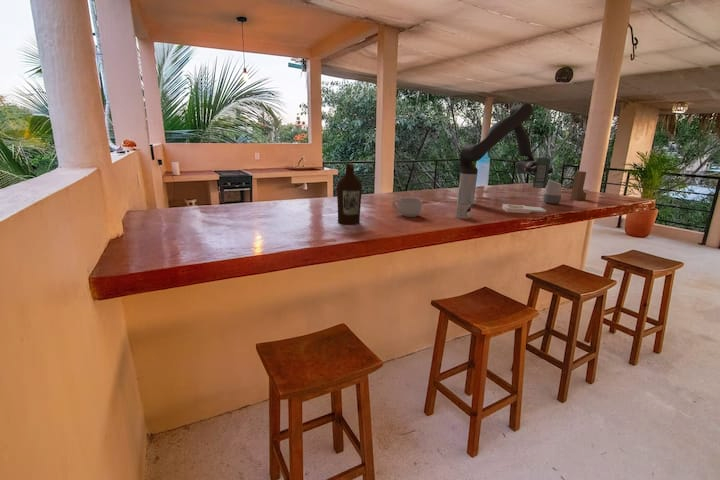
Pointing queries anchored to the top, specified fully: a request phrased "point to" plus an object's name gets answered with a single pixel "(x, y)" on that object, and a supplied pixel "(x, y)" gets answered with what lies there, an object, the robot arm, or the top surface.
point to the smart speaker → (552, 192)
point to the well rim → (516, 208)
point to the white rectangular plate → (536, 209)
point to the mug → (463, 210)
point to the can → (541, 172)
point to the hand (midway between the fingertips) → (542, 171)
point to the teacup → (408, 206)
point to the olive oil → (349, 197)
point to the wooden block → (578, 186)
